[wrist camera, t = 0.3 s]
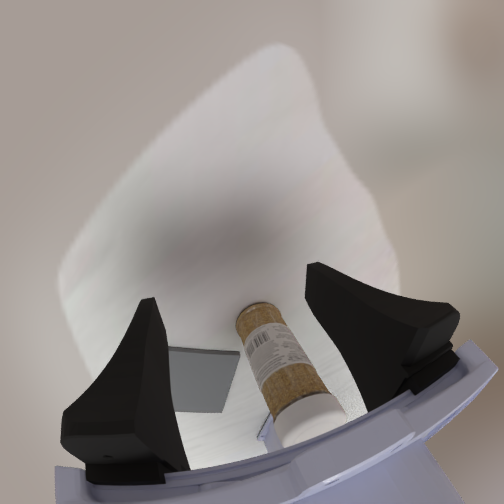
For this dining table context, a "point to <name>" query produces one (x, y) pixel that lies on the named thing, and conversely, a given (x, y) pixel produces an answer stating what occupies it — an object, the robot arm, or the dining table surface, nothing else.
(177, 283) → the dining table surface
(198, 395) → the coaster
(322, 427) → the sprinkles bottle
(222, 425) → the dining table surface
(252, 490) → the robot arm
